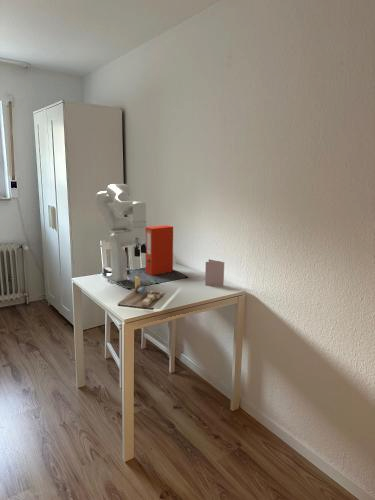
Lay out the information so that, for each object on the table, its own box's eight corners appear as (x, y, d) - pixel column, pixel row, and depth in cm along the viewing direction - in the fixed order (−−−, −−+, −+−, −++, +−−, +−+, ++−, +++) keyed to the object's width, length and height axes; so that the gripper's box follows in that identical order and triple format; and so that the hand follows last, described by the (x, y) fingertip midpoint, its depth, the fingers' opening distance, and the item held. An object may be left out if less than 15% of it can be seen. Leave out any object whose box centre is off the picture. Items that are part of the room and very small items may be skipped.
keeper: (137, 297, 195) (137, 289, 194) (142, 292, 202) (142, 285, 201) (140, 297, 194) (140, 290, 194) (145, 293, 201) (145, 286, 200)
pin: (134, 292, 202) (134, 277, 200) (136, 291, 205) (136, 275, 203) (138, 293, 201) (138, 277, 199) (140, 291, 204) (140, 276, 202)
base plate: (117, 306, 186) (117, 303, 185) (134, 292, 206) (134, 290, 206) (152, 310, 181) (152, 307, 181) (165, 295, 202) (165, 293, 201)
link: (151, 293, 199) (151, 290, 199) (162, 294, 198) (162, 291, 197) (138, 305, 182) (138, 301, 182) (150, 306, 181) (150, 302, 180)
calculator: (129, 268, 244) (108, 270, 236) (129, 274, 245) (108, 277, 237) (123, 265, 253) (103, 267, 245) (123, 271, 254) (103, 273, 246)
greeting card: (224, 285, 222) (225, 261, 219) (217, 288, 217) (218, 264, 213) (208, 281, 229) (209, 259, 226) (202, 284, 223) (202, 261, 220)
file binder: (172, 271, 251) (173, 226, 244) (151, 275, 240) (151, 228, 234) (166, 269, 257) (166, 225, 250) (145, 272, 247) (145, 227, 240)
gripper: (138, 222, 206) (139, 251, 210) (127, 226, 190) (128, 257, 193) (151, 222, 205) (151, 252, 208) (140, 226, 188) (141, 258, 191)
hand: (140, 254), depth 200 cm, fingers open, 9 cm apart
